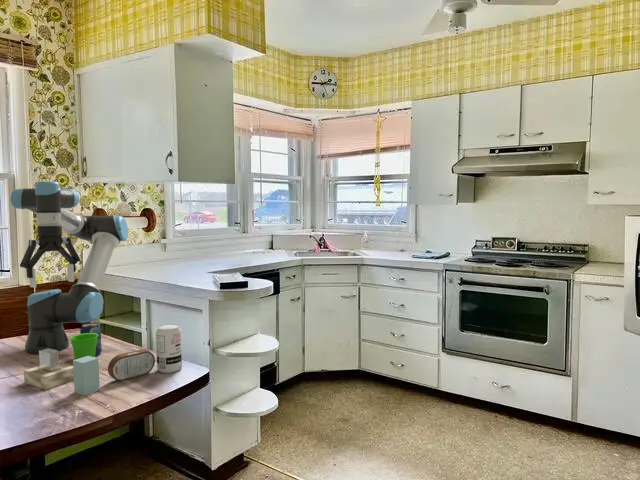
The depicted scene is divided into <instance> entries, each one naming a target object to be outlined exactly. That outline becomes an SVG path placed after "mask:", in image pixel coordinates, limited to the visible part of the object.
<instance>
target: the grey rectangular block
mask: <svg viewBox="0 0 640 480" xmlns="http://www.w3.org/2000/svg"><path fill="white" fill-rule="evenodd" d="M38 360H39V366H40V370H43V371H46V372H54V371H57V370H60V364H59V363H60V350H59V351H57V350H53V349H49V348H47V349H43V350H40V351H39V354H38Z"/></svg>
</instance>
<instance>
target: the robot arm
mask: <svg viewBox="0 0 640 480" xmlns="http://www.w3.org/2000/svg"><path fill="white" fill-rule="evenodd" d="M9 199H10V204H11V205H12V206H13V208H15V209H19V210H24V209H25V210H29V211H30V212H33V213H35V214H36V225H38V226H37V228H36V229H37V237H38V239H37V240H36V239H29V240H28V247H27V249H26V251H25V253H24V255H23V257H22V259H21V261H20V264H19V267H20V268H24V269H25V270H26V277H27V279H28V280H29V288H35V289H36V288H37V275H36V274H37V273H36V272H37V271H36V270H37V269H36V268H34V267H35V266H36V265H37V263H38V261H39V260H40V259H41V257H43V255H44V254H45V253H46V252H49V253H50V252H58V253H59V254H60V256H61V257H63V258H64V259H65V260H66V261H67V262H68V263H66V268H67V269H66V270H67V271H66V272H67V282H70V283H73V282H74V283H75V273H76V264H77V263H78V262H80V261H81V258H80V256H79V255H78V252H77V250H76V248H75V247H74V246H73V244H72V238H71V237H66V236H65V237H64V238H62V237H63V231H64V232H65V233H66V234H69V235H70V236H72V237H75V238H77V239H81V240H83V241H87V242H92V245H91V249H90V251H89V253H88V256H87V258H86V261H85V263H84V265H83V268H82V270H81V273H80V275H79V278H78V280H77V283H75V284H73V285H71V287H70V289H69V291H68V292H63V291H62V289H60V288H55V289H48V290H42V291H38V292H34V293H31V294H30V295H28V297H27V307H26V308H27V316H28V330H29V331H28V334H27V338H26V342H25V346H24V352H25V353H26V354H31V355H39V351H40V350H43V349H47V348H49V349H53V350H57V351H59V352H60V351H62V350H65V349H66V348H68V347H69V345H70V342H69V340H70V339H69V337H68V335H67V333H66V331H65V328H64V323H65V324H67V323H76V324H77V323H80V324H86V323H94V321H97V320H98V319H99V317H100V316H101V315H102V312H103V310H104V297H103V295H102V293H101V291H100V288H101V285H102V282H103V279H104V277H105V275H106V271H107V269H108V266H109V264H110V260H111V258H112V255H113V252H114V250H115V249H118V248H119V246H120V243H121V242H125V241H127V240H128V237H129V228H128V227H129V226H128V223H127V220H126V219H125V217H123V216H122V215H115V214H114V215H81V214H80V213H77V212H72V211H70V210H68V209H73V208H75V207H76V206H78V205H79V203H80V196H79V193H78V192H77V191H76V190H75V189H72V188H69V187H68V188H67V187H65V188H64V187H62V188H61V185H60V183H59V182H58V181H47V180H46V181H43V180H42V181H37V182H35V187H34V188H25V187H23V188H16V189H13V191H11V194H10V198H9ZM62 244H64V246H65V247H63V245H62ZM37 246H39V247H38V248H37V250H36V247H37ZM65 248H66V249H65ZM35 250H36V252H35ZM66 250H67V251H68V252H67V251H66ZM34 252H35V253H34Z"/></svg>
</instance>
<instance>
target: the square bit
mask: <svg viewBox="0 0 640 480" xmlns="http://www.w3.org/2000/svg"><path fill="white" fill-rule="evenodd" d="M72 366H73V372H74V380H73V386H74V388H73V389H74V391H73V392H74V393H75V394H78V395H81V396H85V397H86V396H88V395H91V394H93V393H95V392H98V391H100V390H101V388H100V387H101V386H100V384H101V383H100V368H99V366H100V364H99V357H91V356H86V357H82V358H79V359H76V360H75V359H73V360H72ZM90 393H91V394H90Z"/></svg>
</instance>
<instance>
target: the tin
mask: <svg viewBox="0 0 640 480" xmlns="http://www.w3.org/2000/svg"><path fill="white" fill-rule="evenodd" d="M155 364H156V358H155V355H154V354H153V353H152V352H151V351H150V350H149V349H146V348H145V349H143V348H142V349H141V348H140V349H138V350H134V351H133V350H132V351H128V352H124V353H119V354H117V355H115V356H114V357H112V359H111V360H110V361H109V363H108V366H107V373H108V375H109V377H110V378H112V379H114V380H115V381H119V382H120V381H121V382H123V381H126V380H130V379H133V378H137V377H141V376H145V375H148V374H149V373H150V372H151V371H152V370H153V368H154V366H155Z"/></svg>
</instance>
